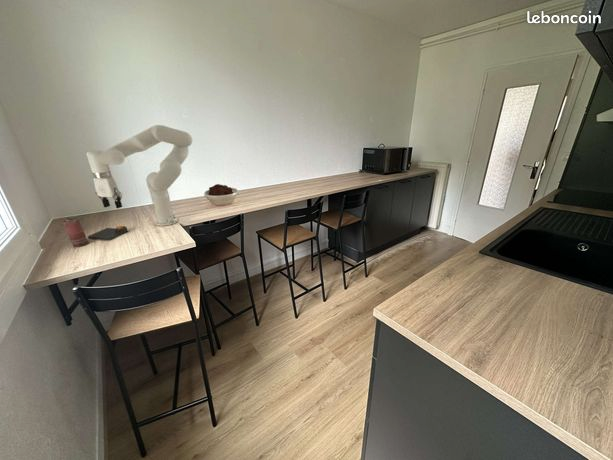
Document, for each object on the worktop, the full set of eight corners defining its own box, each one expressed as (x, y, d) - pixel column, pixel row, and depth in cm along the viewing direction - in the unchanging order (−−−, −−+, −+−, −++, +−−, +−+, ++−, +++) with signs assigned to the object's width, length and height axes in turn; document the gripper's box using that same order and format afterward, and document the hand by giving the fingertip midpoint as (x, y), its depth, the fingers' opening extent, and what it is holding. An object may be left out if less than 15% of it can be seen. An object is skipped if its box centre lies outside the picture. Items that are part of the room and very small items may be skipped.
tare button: (124, 228, 145) (123, 225, 145) (120, 229, 143) (119, 227, 142) (120, 227, 146) (119, 225, 145) (116, 229, 143) (116, 227, 143)
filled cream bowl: (238, 197, 210) (236, 179, 204) (240, 206, 188) (238, 186, 182) (206, 200, 203) (203, 182, 197) (205, 210, 181) (201, 189, 175)
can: (78, 242, 134) (68, 218, 129) (91, 241, 135) (81, 217, 129) (69, 247, 129) (58, 222, 123) (82, 247, 129) (72, 222, 123)
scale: (130, 231, 147) (128, 226, 146) (110, 240, 136) (108, 235, 135) (109, 229, 150) (107, 224, 149) (88, 238, 139) (86, 233, 137)
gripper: (82, 176, 130) (94, 208, 137) (110, 177, 127) (120, 210, 134) (95, 173, 137) (106, 204, 144) (122, 174, 134) (132, 206, 141)
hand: (113, 206), depth 139 cm, fingers open, 7 cm apart
